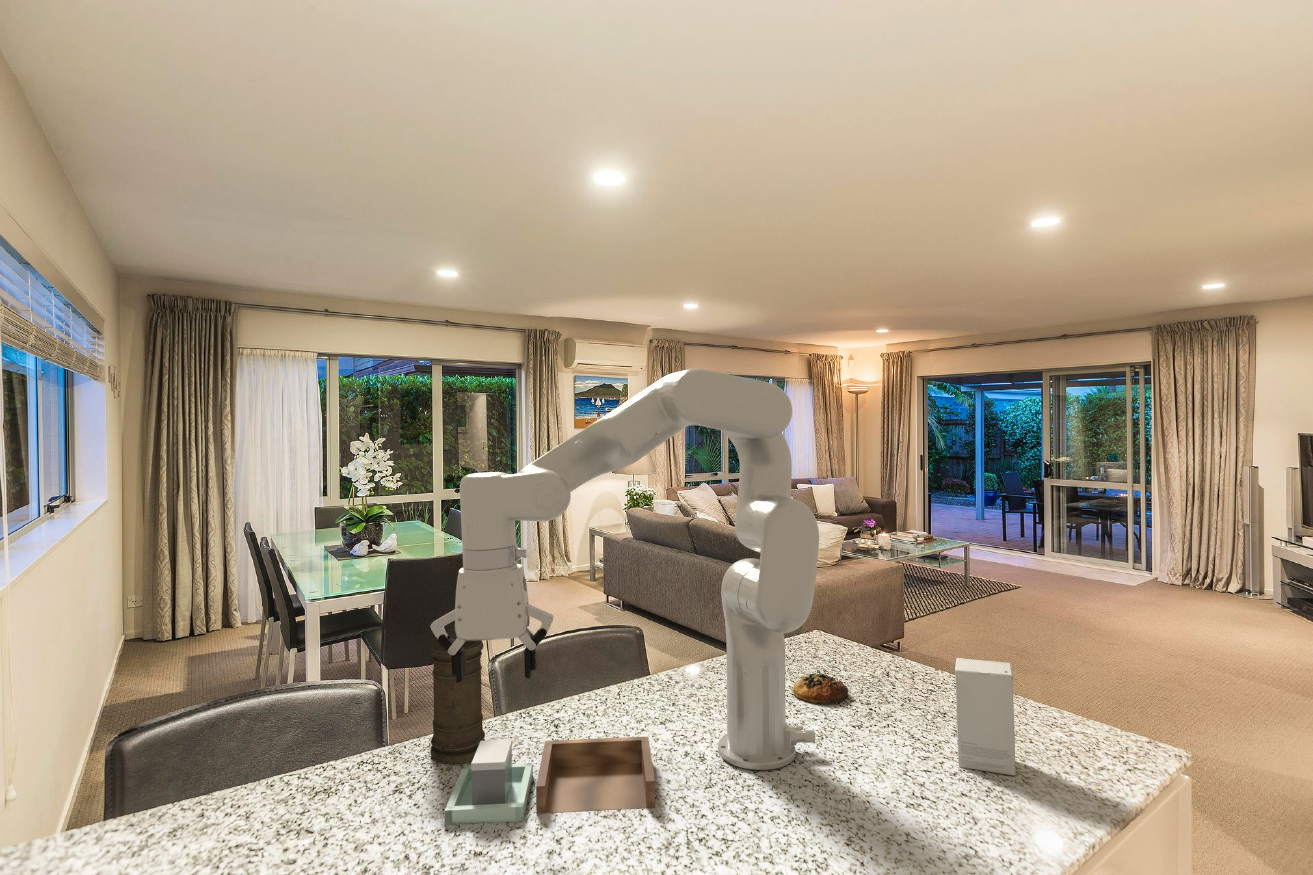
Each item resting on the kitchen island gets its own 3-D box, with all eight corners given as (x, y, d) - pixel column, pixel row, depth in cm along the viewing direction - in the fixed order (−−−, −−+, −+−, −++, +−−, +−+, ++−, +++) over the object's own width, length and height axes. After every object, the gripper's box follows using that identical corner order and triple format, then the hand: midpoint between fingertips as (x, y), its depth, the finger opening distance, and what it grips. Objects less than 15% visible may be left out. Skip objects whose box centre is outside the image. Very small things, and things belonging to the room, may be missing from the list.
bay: (648, 761, 110) (648, 736, 110) (654, 809, 96) (654, 780, 96) (545, 765, 109) (545, 740, 109) (536, 815, 95) (536, 786, 95)
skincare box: (1014, 759, 110) (1013, 662, 109) (1016, 778, 104) (1015, 675, 103) (956, 749, 113) (956, 655, 113) (955, 767, 107) (954, 668, 107)
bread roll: (855, 705, 132) (851, 678, 132) (798, 712, 132) (794, 686, 133) (841, 686, 143) (838, 662, 143) (788, 693, 143) (785, 669, 144)
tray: (532, 777, 105) (532, 762, 105) (523, 822, 93) (522, 806, 93) (463, 780, 104) (463, 765, 104) (444, 826, 92) (444, 810, 92)
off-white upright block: (512, 782, 102) (512, 739, 102) (505, 808, 95) (505, 761, 95) (481, 784, 102) (480, 740, 102) (471, 810, 95) (471, 763, 95)
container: (471, 767, 109) (470, 653, 109) (419, 762, 111) (418, 650, 110) (495, 742, 118) (494, 637, 117) (447, 737, 119) (446, 634, 119)
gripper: (552, 550, 103) (557, 664, 103) (434, 557, 102) (440, 672, 102) (548, 560, 95) (553, 682, 96) (421, 567, 94) (426, 691, 94)
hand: (495, 677), depth 99 cm, fingers open, 9 cm apart
